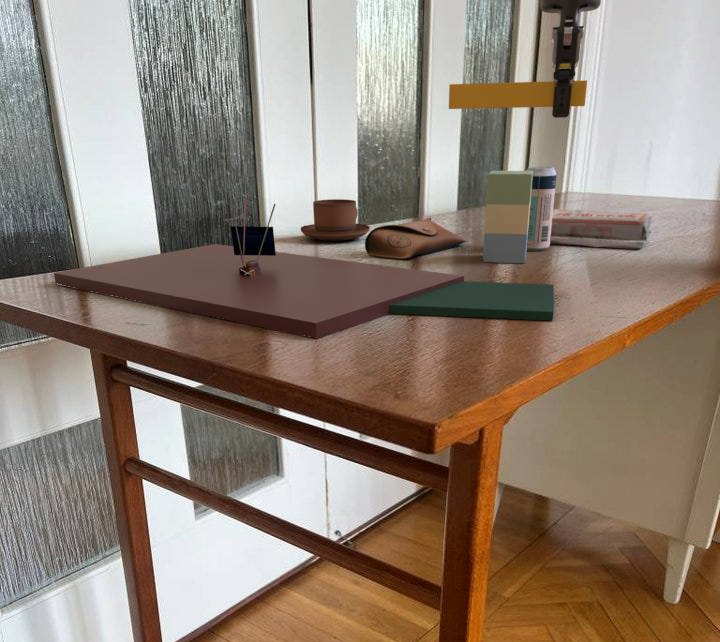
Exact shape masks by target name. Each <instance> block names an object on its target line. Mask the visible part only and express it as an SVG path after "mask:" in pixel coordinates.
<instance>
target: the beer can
mask: <svg viewBox="0 0 720 642" xmlns="http://www.w3.org/2000/svg"><path fill="white" fill-rule="evenodd" d="M525 171H533V179H532V191H531V202H530V214H529V226H528V238H527V250H526V251H529V252H530V251H531V252H538V251H545V250H546V249H547V248H550V247H551V246H550V245H551V243H550V237H551V226H552V216H553V209H554V204H555V194H556V184H557V172H556V169H555V167H553V166H528V167H527V169H526V170H525Z"/></svg>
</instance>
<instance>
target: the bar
mask: <svg viewBox="0 0 720 642" xmlns="http://www.w3.org/2000/svg"><path fill="white" fill-rule="evenodd" d="M555 86H558V85H555ZM569 86H572V90H571V100H570V107H586V97H587V88H588V87H587V86H588V80H585V79H583V80H574V82H573V85H569ZM448 88H449V89H448V110H470V109H475V110H476V109H512V108H513V109H516V108H517V109H518V108H519V109H521V108H553V98H554V82H553V80H551V81H522V82H521V81H519V82H518V81H517V82H515V81H514V82H486V83H485V82H483V83H482V82H481V83H450V84H449V87H448Z"/></svg>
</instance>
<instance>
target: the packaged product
mask: <svg viewBox="0 0 720 642" xmlns="http://www.w3.org/2000/svg"><path fill="white" fill-rule="evenodd" d="M651 223H652V216H651V215H650V214H647V213H633V212H632V213H631V212H616V211H615V212H614V211H599V210H581V209H579V210H578V209H564V208H563V209H561V208H559V209H558V208H553V216H552V226H551V237H550V245H552V244H554V245H565V246H566V245H567V246H580V247H593V248H611V249H613V248H614V249H628V250H639V249H643V248H644V247H645V246H646V245H647V244H648V242H649V241H650V239H651V238H652V231H651V230H650V227H651Z"/></svg>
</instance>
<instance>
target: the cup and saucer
mask: <svg viewBox="0 0 720 642" xmlns="http://www.w3.org/2000/svg"><path fill="white" fill-rule="evenodd" d="M312 206H313V209H312V210H313V224H308V225H303V226H301V227H300V232H301V233H302V234H303V235H304V236H306V237H308V238H310V239H314V240H317V241H318V240H319V241H325V242H327V241H328V242H342V241H343V242H344V241H349V240H354V239H358V238H361V237H364V236H365V235H367V233H369V232H370V229H371V226H369V225H366V224H362V223H357V218H358V208H357V201H356V200H354V199H343V198H342V199H340V198H336V199H334V198H332V199H319V200H314V201H313V202H312Z"/></svg>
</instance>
